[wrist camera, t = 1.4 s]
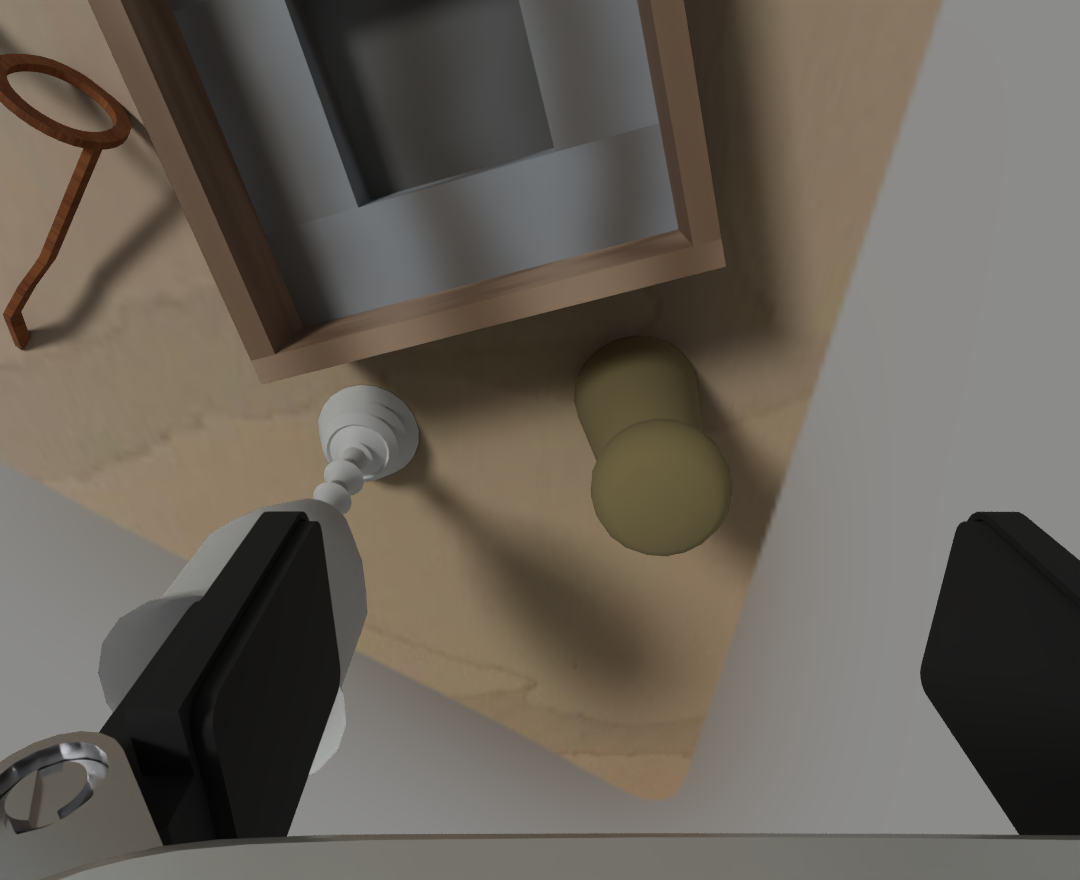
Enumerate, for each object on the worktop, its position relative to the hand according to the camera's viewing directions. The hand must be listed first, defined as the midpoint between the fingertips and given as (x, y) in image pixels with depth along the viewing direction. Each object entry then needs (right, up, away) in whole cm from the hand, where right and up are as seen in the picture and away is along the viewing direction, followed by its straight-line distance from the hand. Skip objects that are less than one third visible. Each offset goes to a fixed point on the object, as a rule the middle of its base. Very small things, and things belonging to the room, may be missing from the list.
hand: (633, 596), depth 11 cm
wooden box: (-6, +17, +19) cm, 26 cm away
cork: (+3, +5, +25) cm, 26 cm away
